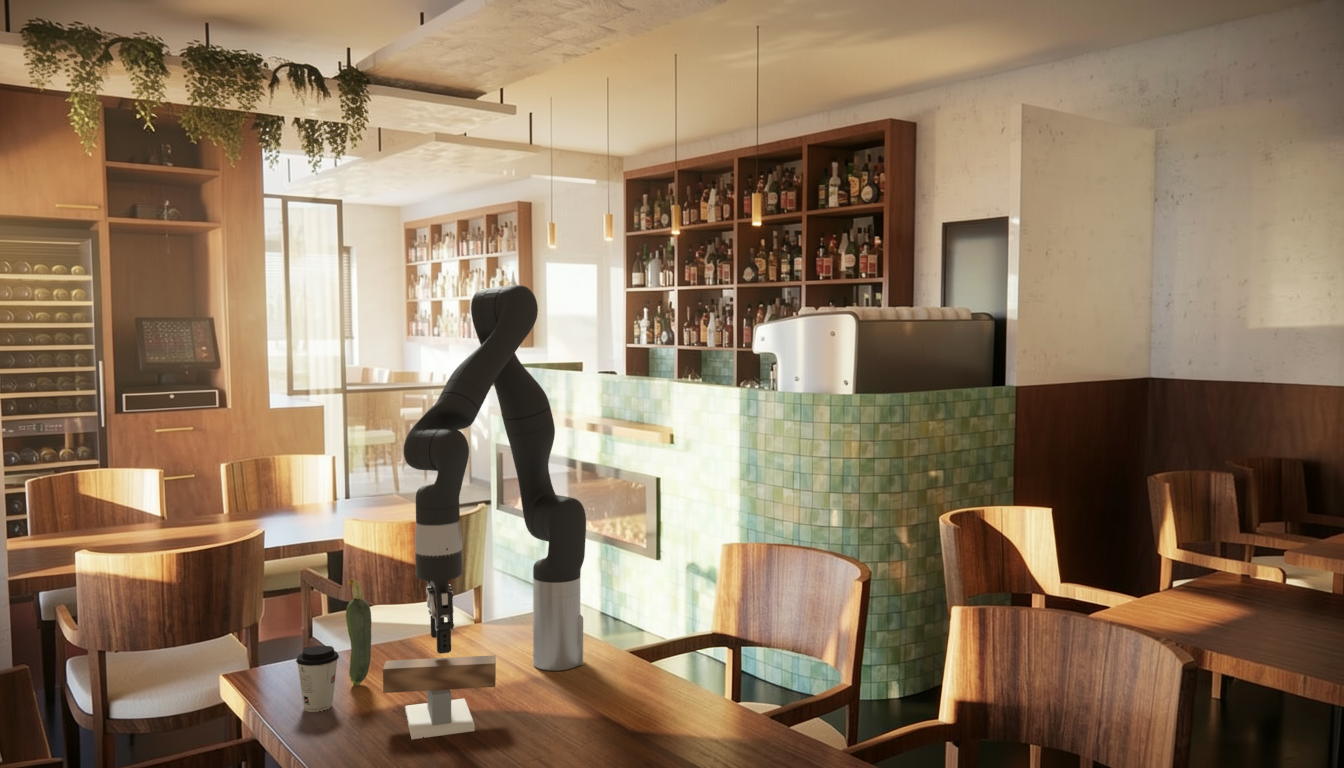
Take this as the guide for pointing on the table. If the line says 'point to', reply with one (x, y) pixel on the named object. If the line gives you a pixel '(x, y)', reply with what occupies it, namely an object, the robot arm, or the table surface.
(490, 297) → the robot arm
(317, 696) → the coffee cup
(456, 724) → the fulcrum
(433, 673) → the beam
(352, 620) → the vegetable
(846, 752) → the table surface
